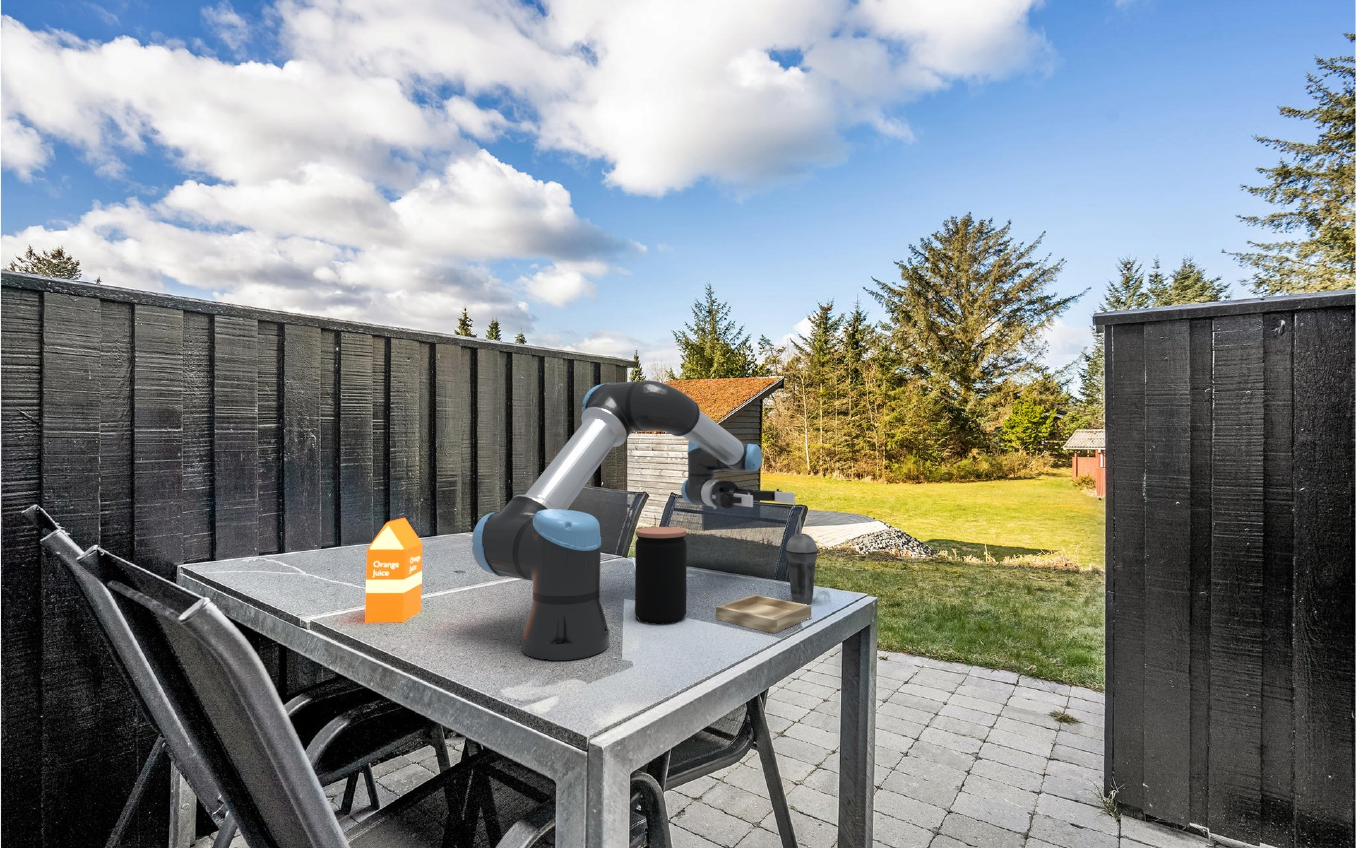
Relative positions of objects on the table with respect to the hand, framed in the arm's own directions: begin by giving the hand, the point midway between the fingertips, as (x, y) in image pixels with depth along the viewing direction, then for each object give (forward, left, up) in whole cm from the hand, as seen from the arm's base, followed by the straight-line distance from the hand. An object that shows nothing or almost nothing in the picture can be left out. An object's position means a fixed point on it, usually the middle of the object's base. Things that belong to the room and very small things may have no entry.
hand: (773, 499), depth 143 cm
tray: (+10, -20, -23) cm, 32 cm away
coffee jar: (-5, -34, -23) cm, 41 cm away
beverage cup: (+10, -3, -23) cm, 25 cm away
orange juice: (-46, -71, -23) cm, 88 cm away
